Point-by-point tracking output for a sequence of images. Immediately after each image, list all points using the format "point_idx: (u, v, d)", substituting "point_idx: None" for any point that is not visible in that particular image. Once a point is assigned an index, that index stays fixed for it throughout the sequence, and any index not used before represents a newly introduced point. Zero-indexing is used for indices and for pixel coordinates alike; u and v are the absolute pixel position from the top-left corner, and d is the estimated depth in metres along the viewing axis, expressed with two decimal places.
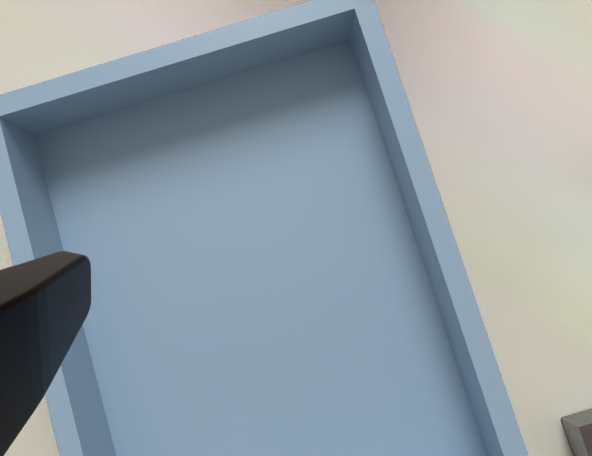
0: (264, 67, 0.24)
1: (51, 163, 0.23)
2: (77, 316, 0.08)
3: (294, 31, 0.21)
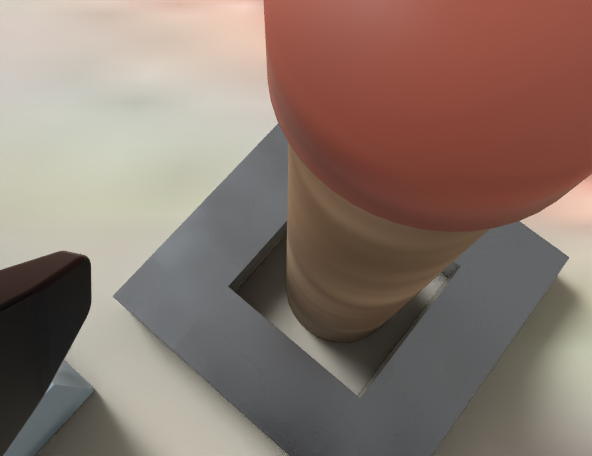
0: None
1: None
2: (77, 316, 0.08)
3: None
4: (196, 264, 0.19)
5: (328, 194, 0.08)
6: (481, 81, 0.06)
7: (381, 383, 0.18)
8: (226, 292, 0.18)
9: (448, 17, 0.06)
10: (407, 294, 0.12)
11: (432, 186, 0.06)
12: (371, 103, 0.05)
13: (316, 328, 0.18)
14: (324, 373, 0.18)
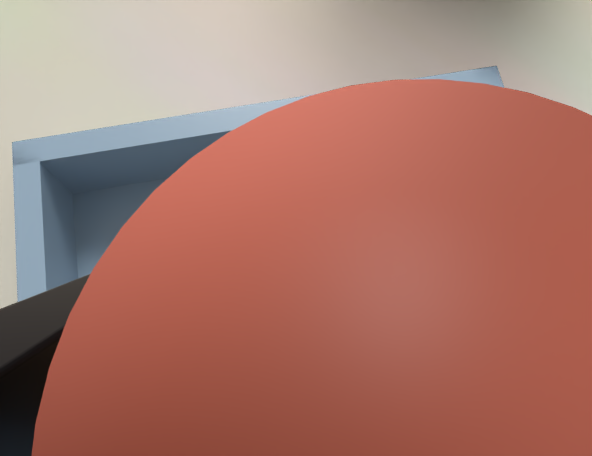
0: None
1: (87, 228, 0.19)
2: None
3: None
4: None
5: None
6: None
7: None
8: None
9: None
10: None
11: None
12: None
13: None
14: None
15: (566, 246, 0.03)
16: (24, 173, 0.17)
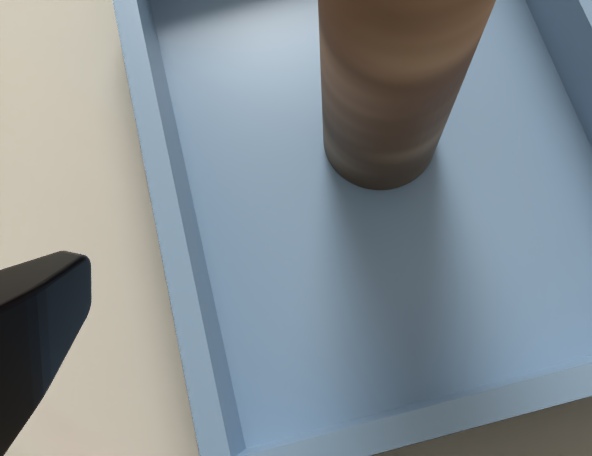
0: None
1: (162, 10, 0.22)
2: (77, 316, 0.08)
3: None
4: None
5: None
6: None
7: None
8: None
9: None
10: (447, 53, 0.12)
11: None
12: None
13: (357, 169, 0.18)
14: None
15: None
16: None
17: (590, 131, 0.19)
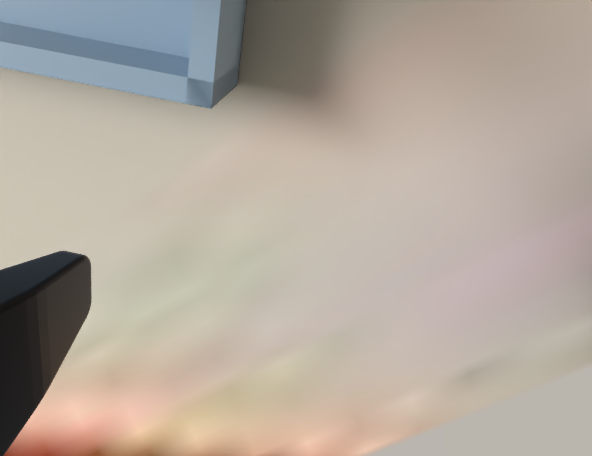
0: None
1: None
2: (77, 316, 0.08)
3: None
4: None
5: None
6: None
7: None
8: None
9: None
10: None
11: None
12: None
13: None
14: None
15: None
16: None
17: None
